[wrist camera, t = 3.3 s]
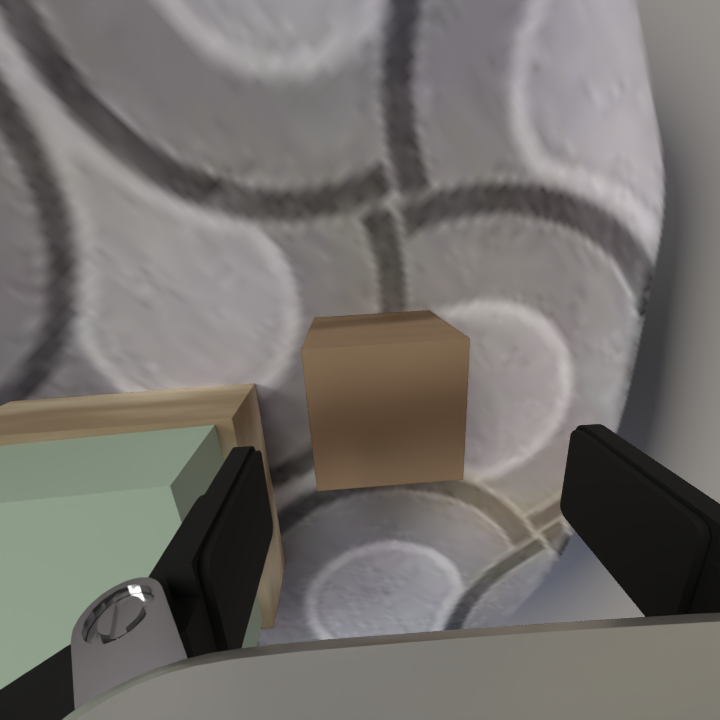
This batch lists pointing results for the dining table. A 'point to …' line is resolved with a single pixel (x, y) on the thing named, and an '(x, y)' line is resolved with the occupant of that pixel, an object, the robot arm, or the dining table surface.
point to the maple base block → (158, 412)
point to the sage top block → (90, 528)
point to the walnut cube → (386, 399)
